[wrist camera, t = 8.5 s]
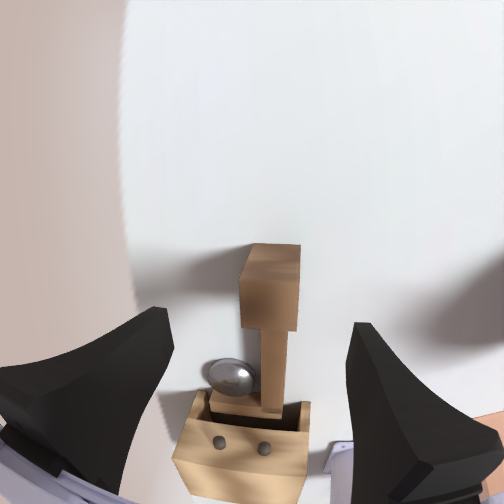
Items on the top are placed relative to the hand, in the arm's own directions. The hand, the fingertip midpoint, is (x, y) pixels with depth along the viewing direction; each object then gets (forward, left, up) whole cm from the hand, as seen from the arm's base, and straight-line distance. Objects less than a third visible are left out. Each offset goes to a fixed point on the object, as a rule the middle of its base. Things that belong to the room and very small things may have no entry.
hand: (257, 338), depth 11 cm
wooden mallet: (+2, +8, -9) cm, 12 cm away
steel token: (+4, +12, -10) cm, 16 cm away
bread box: (+2, +19, -9) cm, 22 cm away
